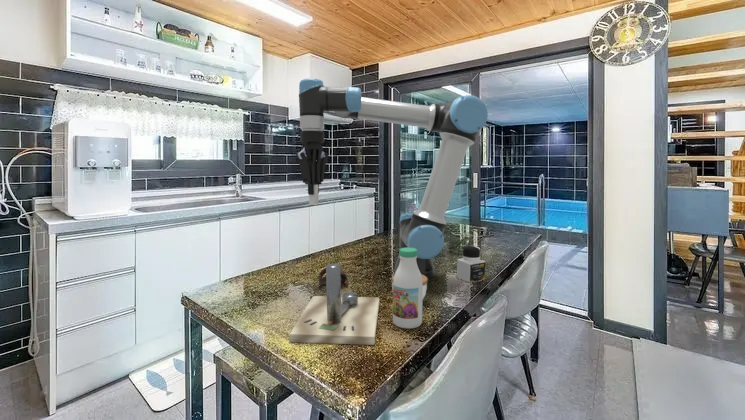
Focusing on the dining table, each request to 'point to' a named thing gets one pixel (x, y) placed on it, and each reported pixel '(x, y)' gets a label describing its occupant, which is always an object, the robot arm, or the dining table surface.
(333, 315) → the lever
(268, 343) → the dining table surface
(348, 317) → the dial board
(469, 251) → the medicine bottle
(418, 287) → the milk bottle
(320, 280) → the pottery mug
